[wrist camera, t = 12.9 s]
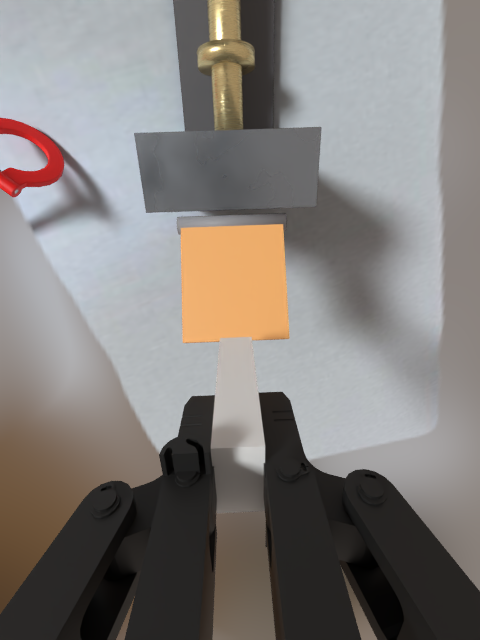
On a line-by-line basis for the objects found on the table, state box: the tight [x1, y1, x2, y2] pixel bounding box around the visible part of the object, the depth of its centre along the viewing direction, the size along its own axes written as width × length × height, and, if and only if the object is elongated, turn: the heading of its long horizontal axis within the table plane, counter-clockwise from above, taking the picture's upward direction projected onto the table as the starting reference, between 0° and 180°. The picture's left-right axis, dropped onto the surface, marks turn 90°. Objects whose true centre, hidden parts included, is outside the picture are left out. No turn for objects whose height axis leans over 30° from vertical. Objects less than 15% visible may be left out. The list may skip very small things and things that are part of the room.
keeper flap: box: [177, 213, 289, 343], centre depth 18 cm, size 1×6×8 cm
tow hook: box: [0, 118, 64, 197], centre depth 29 cm, size 7×10×7 cm
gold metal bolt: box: [197, 0, 255, 131], centre depth 22 cm, size 18×5×5 cm, turn 2°
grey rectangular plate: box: [134, 127, 321, 213], centre depth 23 cm, size 4×10×14 cm, turn 92°
